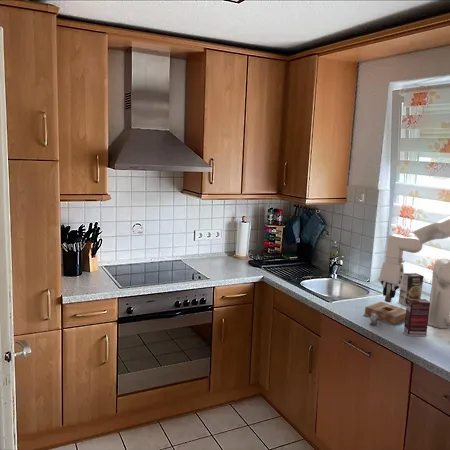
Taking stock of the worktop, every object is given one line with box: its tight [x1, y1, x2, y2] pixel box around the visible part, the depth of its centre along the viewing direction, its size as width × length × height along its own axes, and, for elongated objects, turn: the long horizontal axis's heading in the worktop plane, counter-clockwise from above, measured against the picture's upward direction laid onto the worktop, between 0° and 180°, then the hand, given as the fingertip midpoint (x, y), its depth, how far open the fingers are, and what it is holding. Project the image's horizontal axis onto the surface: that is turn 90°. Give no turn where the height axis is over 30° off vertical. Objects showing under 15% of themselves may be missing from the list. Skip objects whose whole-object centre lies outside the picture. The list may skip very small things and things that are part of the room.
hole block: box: [364, 301, 406, 326], centre depth 229 cm, size 16×14×4 cm
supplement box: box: [403, 298, 430, 337], centre depth 208 cm, size 9×5×16 cm, turn 92°
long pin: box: [384, 282, 393, 303], centre depth 227 cm, size 3×3×10 cm
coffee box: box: [398, 272, 425, 307], centre depth 250 cm, size 9×6×16 cm
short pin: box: [369, 313, 379, 327], centre depth 218 cm, size 3×3×5 cm
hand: (388, 296), depth 228 cm, fingers closed on long pin, 3 cm apart
